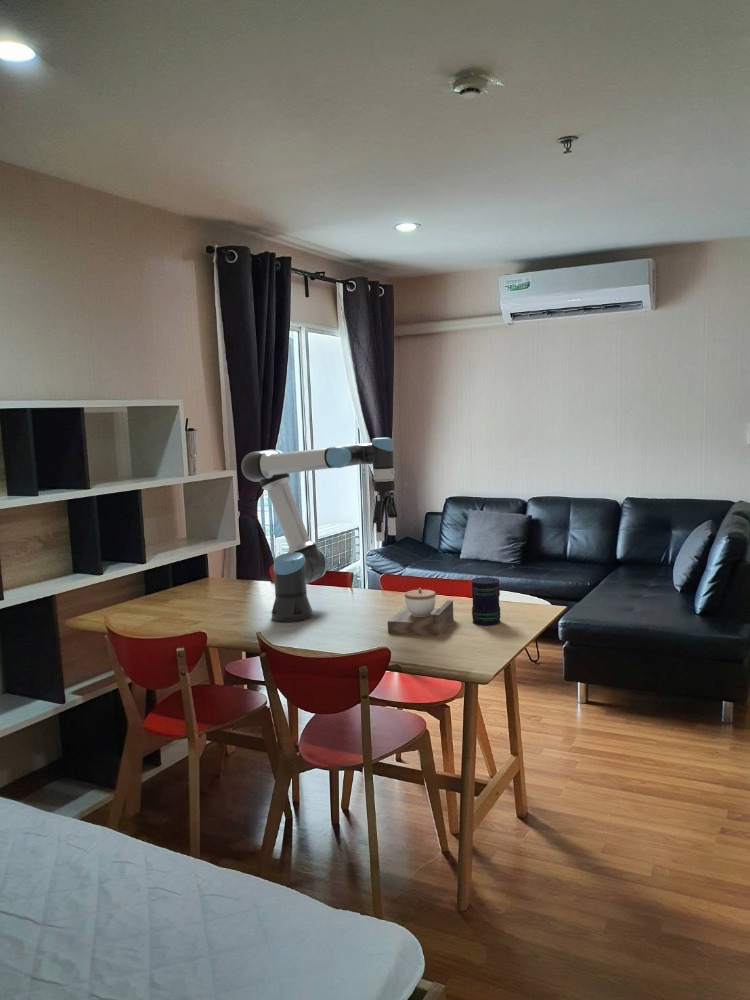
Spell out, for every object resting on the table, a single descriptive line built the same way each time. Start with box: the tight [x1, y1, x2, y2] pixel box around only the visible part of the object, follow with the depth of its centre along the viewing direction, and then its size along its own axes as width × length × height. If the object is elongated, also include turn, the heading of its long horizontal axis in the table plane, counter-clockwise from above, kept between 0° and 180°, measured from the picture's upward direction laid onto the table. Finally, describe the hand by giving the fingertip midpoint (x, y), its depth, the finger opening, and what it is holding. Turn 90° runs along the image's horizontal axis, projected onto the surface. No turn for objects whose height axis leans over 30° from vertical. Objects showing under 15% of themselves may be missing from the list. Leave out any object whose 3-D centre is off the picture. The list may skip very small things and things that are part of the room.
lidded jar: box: [404, 587, 437, 617], centre depth 267 cm, size 11×11×9 cm
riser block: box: [387, 600, 455, 636], centre depth 267 cm, size 18×20×7 cm
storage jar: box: [470, 576, 501, 627], centre depth 268 cm, size 10×10×15 cm
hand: (386, 538), depth 282 cm, fingers open, 13 cm apart
